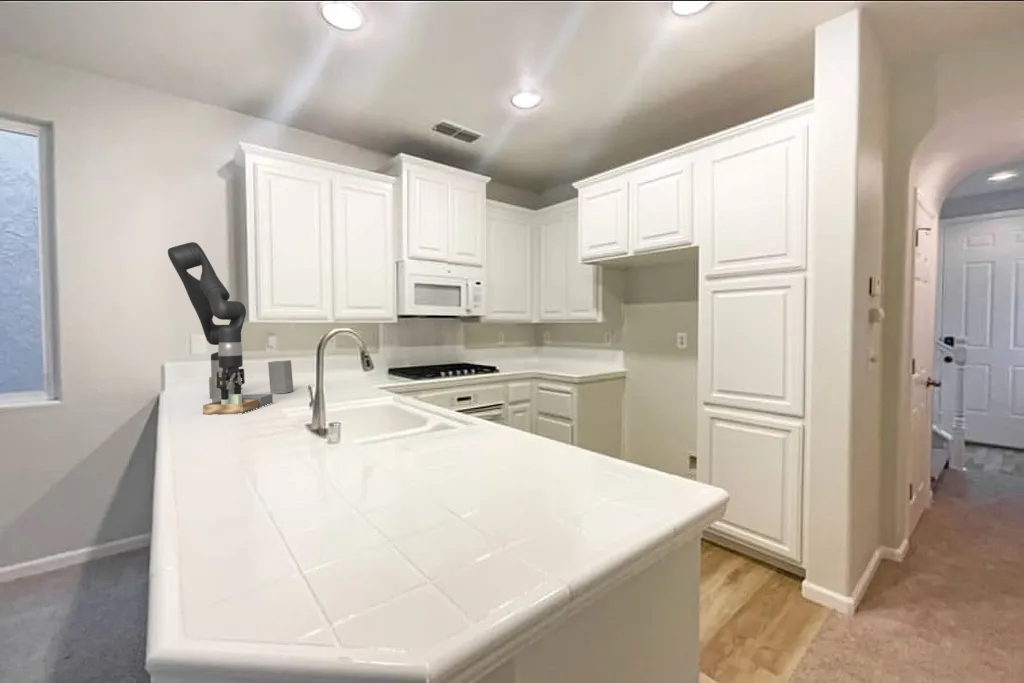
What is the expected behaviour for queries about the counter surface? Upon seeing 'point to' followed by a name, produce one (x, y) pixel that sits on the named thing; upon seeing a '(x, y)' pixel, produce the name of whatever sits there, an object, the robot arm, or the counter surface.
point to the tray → (230, 407)
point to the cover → (233, 399)
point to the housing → (262, 398)
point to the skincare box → (280, 376)
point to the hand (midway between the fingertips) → (231, 397)
